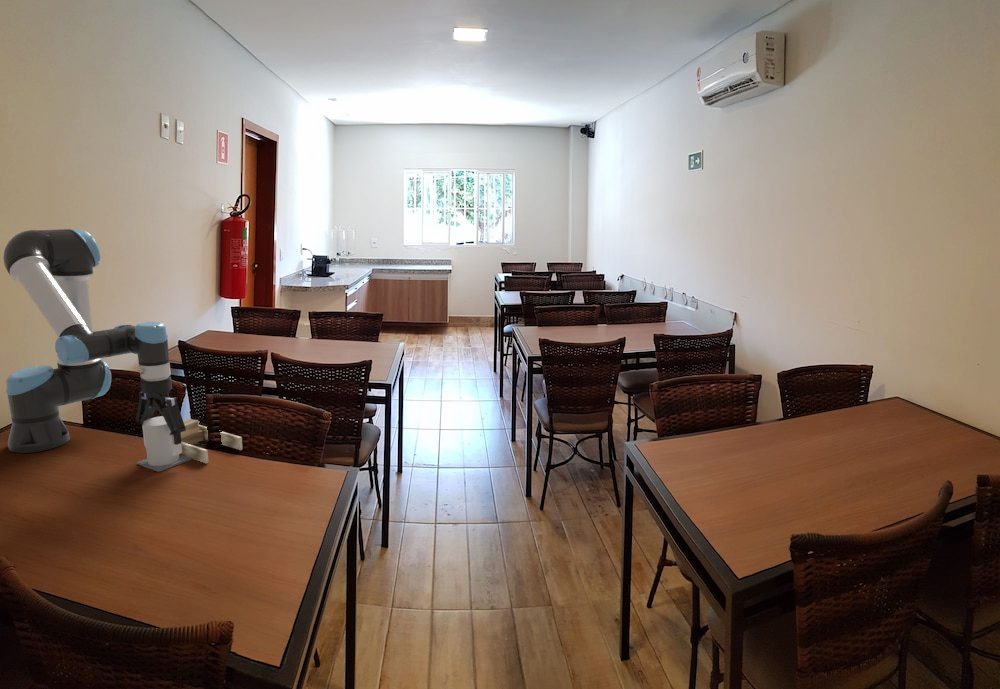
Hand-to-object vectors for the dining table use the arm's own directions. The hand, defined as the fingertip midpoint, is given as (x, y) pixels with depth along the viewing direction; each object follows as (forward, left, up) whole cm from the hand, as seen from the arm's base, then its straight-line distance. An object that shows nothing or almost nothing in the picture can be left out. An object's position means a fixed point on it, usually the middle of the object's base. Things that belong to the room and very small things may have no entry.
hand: (163, 449), depth 179 cm
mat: (0, 0, -4) cm, 4 cm away
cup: (0, 0, -3) cm, 3 cm away
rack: (0, +12, -4) cm, 12 cm away
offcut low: (-7, +12, -4) cm, 15 cm away
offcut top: (-7, +12, -1) cm, 14 cm away
